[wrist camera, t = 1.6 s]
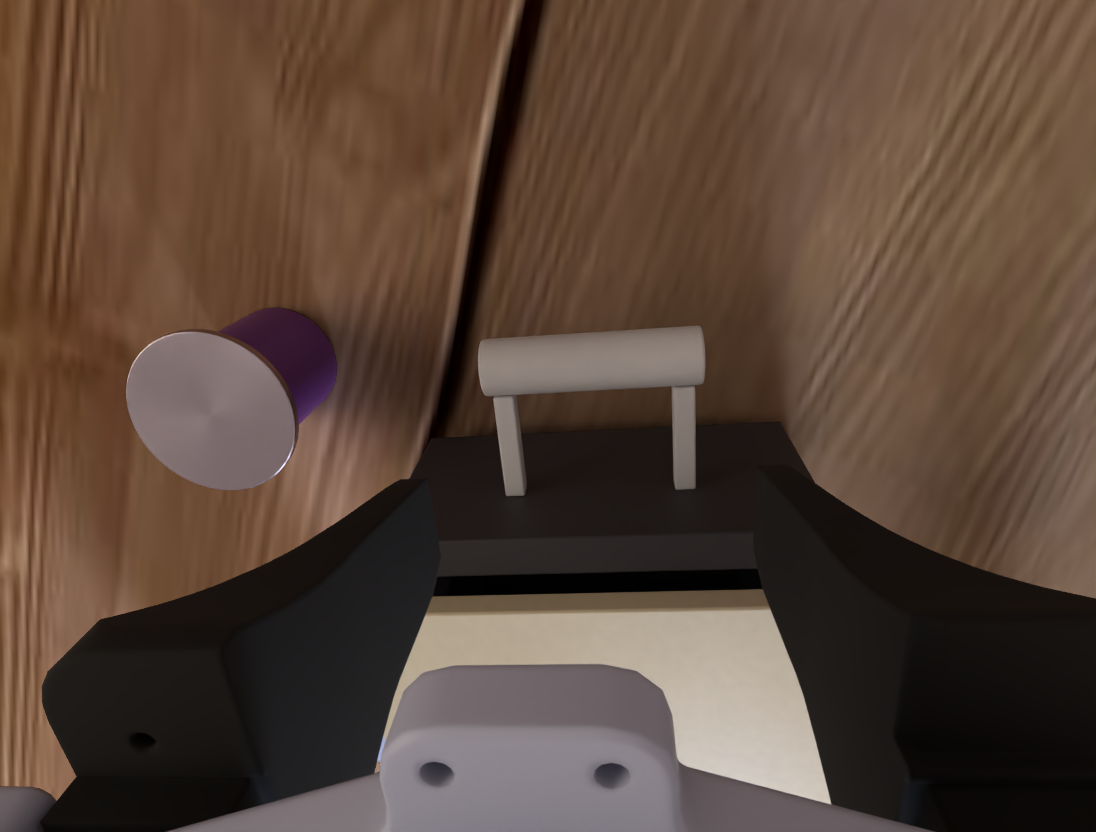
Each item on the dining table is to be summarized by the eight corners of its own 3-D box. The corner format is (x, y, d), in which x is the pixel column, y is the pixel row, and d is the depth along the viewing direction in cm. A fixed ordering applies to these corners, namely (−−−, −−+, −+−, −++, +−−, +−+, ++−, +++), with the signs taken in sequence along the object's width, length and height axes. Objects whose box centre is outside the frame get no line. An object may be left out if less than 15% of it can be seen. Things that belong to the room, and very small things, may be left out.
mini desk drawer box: (428, 467, 26) (352, 615, 18) (789, 452, 25) (873, 605, 17) (474, 725, 32) (430, 925, 24) (774, 725, 30) (833, 938, 22)
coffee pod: (237, 427, 26) (157, 493, 22) (198, 296, 24) (100, 337, 20) (366, 420, 26) (312, 487, 21) (337, 285, 24) (270, 325, 19)
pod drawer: (408, 309, 23) (334, 379, 17) (786, 283, 21) (860, 348, 15) (476, 695, 30) (441, 847, 23) (767, 693, 28) (812, 855, 22)
